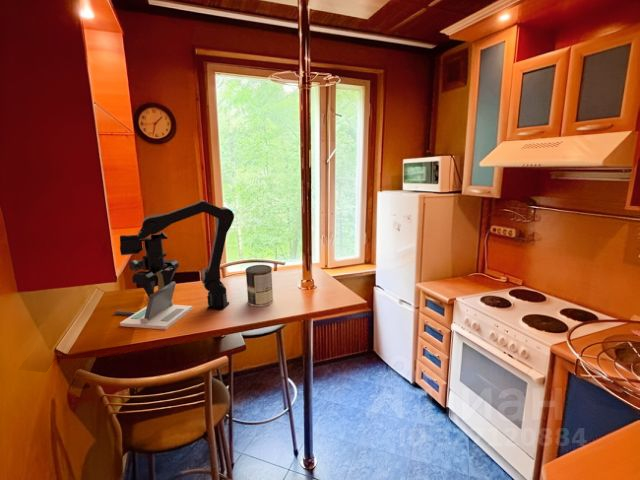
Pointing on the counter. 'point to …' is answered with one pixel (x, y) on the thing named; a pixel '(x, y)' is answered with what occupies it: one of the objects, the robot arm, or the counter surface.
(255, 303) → the coffee can
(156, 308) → the lever
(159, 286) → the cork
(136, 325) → the switch plate
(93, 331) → the counter surface
